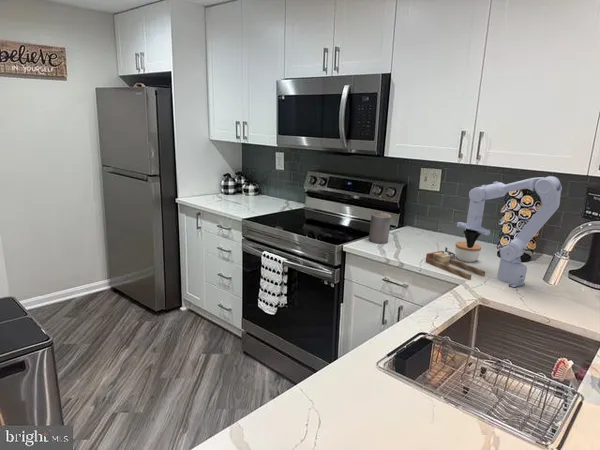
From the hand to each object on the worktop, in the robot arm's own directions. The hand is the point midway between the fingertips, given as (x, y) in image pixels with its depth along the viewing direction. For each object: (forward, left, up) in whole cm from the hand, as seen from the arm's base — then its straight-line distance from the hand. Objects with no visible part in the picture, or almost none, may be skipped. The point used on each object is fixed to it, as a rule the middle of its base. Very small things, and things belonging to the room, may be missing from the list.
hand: (469, 247), depth 181 cm
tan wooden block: (+8, +7, -9) cm, 14 cm away
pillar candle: (+47, +7, -10) cm, 49 cm away
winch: (+10, -1, -10) cm, 14 cm away
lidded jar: (+7, -9, -10) cm, 15 cm away
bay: (+1, +7, -10) cm, 12 cm away
